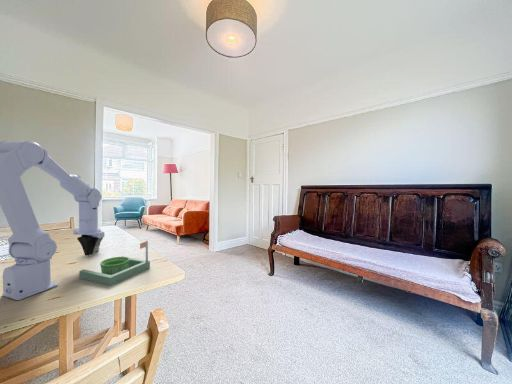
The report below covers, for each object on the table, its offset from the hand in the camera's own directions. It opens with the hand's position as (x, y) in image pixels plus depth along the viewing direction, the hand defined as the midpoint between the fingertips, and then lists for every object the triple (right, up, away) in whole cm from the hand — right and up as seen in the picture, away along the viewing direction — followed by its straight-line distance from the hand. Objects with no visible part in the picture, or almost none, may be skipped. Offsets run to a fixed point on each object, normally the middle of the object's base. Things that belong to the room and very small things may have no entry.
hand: (88, 254), depth 84 cm
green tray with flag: (+13, -5, -4) cm, 15 cm away
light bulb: (-11, -4, +19) cm, 22 cm away
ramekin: (+13, -6, -4) cm, 15 cm away
